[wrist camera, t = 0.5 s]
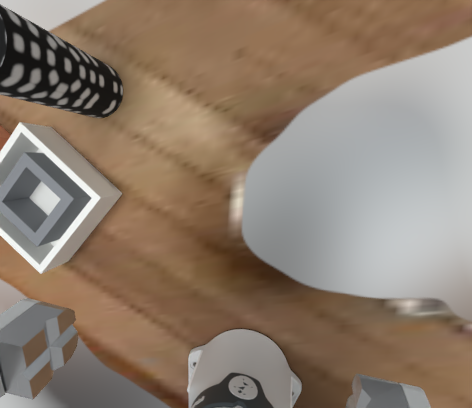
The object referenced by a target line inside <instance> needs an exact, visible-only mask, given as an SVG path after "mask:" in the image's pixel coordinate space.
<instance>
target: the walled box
mask: <svg viewBox="0 0 472 408" xmlns="http://www.w3.org/2000/svg"><path fill="white" fill-rule="evenodd" d="M122 194H123V193H122V192H121V191H119V190H118V189H117V188H116V187H115V186H114V185H113V184H112V183H111V182H110V181H109V180H108V179H107V178H105V177H104V176H103V175H102V174H101V173H100V172H99V171H98V170H97V169H96V168H95V167H94V166H93V165H92V164H90V163H89V162H88V161H87V160H86V159H85V158H84V157H83V156H82V155H81V154H80V153H79V152H78V151H76V150H75V149H74V148H73V147H72V146H71V145H70V144H69V143H68V142H67V141H66V140H65V139H64V138H63V137H61V136H60V135H59V134H58V133H57V132H56V131H55V130H54V129H53V128H52V127H48V126H41V125H35V124H29V123H22V122H20V123H19V124H18V126H17V127H16V129H15V130H14V132H13V133H12V135H11V136H10V138H9V139H8V141H7V142H6V144H5V145H4V147H3V148H2V150H1V151H0V236H2V237H3V238H4V239H5V240H6V241H7V242H8V243H9V244H10V245H11V246H12V247H13V248H14V249H15V250H16V251H17V252H18V253H19V254H21V255H22V256H23V257H24V258H25V259H26V260H27V261H28V262H29V263H30V264H31V265H32V266H33V267H34V268H35V269H36V270H37V271H38V272H40V273H41V274H42V273H44V272H46V271H48V270H50V269H53V268H55V267H57V266H59V265H61V264H64V263H66V262H68V261H69V260H70V259H71V257H72V256H73V255H74V254H75V252H76V251H77V250H78V249H79V247H80V246H81V245H82V244H83V242H84V241H85V240H86V239H87V237H88V236H89V235H90V234H91V232H92V231H93V230H94V229H95V227H96V226H97V225H98V224H99V222H100V221H101V220H102V219H103V218H104V216H105V215H106V214H107V213H108V211H109V210H110V209H111V208H112V206H113V205H114V204H115V203H116V201H117V200H118V199H119V198H120V196H121V195H122Z"/></svg>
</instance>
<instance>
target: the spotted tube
mask: <svg viewBox="0 0 472 408" xmlns="http://www.w3.org/2000/svg"><path fill="white" fill-rule="evenodd" d="M0 94H1V95H5V96H9V97H13V98H17V99H21V100H25V101H29V102H33V103H37V104H41V105H45V106H49V107H53V108H58V109H62V110H66V111H70V112H74V113H78V114H82V115H86V116H90V117H94V118H104V117H107V116H109V115H111V114H112V113H114V112H115V111H116V110H117V108H118V107H119V105H120V103H121V100H122V96H123V87H122V82H121V79H120V77H119V75H118V74H117V73H116V71H115V70H114V69H113V68H112V67H110V66H108V65H107V64H105V63H103V62H101V61H100V60H98V59H96V58H94V57H92V56H91V55H89V54H87V53H85V52H84V51H82V50H80V49H78V48H77V47H75V46H73V45H71V44H69V43H68V42H66V41H64V40H62V39H61V38H59V37H57V36H55V35H54V34H52V33H50V32H48V31H46V30H45V29H43V28H41V27H39V26H38V25H36V24H34V23H32V22H31V21H29V20H27V19H25V18H23V17H22V16H20V15H18V14H16V13H15V12H13V11H11V10H9V9H7V8H6V7H4V6H2V5H0Z"/></svg>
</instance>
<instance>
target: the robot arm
mask: <svg viewBox="0 0 472 408" xmlns="http://www.w3.org/2000/svg"><path fill="white" fill-rule="evenodd" d="M75 320H76V318H75V312H74V311H73V310H71V309H69V308H65V307H61V306H57V305H53V304H50V303H46V302H41V301H37V300H33V299H29V298H27V299H23V300H20V301H19V302H18V303H16V304H15V305H13V306H12V307H10V308H9V309H7V310H6V311H5V312H3V313H2V314H0V397H1V396H3V395H5V393H9V394H14V395H18V396H21V397H25V398H30V399H34V398H35V397H36V396H37V395H38V393H39V392H40V391H41V390H42V389H43V388H44V387H45V386H46V385H47V384H48V382H49V381H50V380H51V379H52V376H53V371H54V370H55V369H57V368H59V367H61V366H63V365H65V364H66V362H67V361H68V360H69V359H70V358H71V356H72V355H73V353H74V351H75V349H76V347H77V341H78V333H77V331H76V329H75V328H74V327H73V325H72V324H73V323H74V322H75ZM194 362H196V364H195V363H194ZM188 371H189V385H188V388H187V392H188V393H189V408H293V406H294V404H295V402H296V400H297V398H298V396H299V395H300V393H301V390H302V383H301V381H300V379H299V378H298V377H297V376H296V375H295V374H294V373H293V372H292V371H291V369H290V368H289V366H288V363H287V360H286V358H285V356H284V354H283V352H282V351H281V349H280V348H279V347H278V346H277V345H276V344H275V343H274V342H273V341H272V340H271V339H269V338H268V337H266V336H264V335H263V334H260V333H258V332H255V331H252V330H246V329H235V330H229V331H226V332H223V333H221V334H219V335H218V336H216V337H215V338H214V339H212V340H211V341H210V342H209V343H208V344H206V345H203V346H199V347H196V348H194V349H192V350H191V351H190V354H189V357H188ZM352 388H353V394H352V395H351V396H349V397H348V400H347V404H346V408H431V406H430V404H429V401H428V399H427V397H426V394H425V392H424V391H423V390H422V389H421V388H420V387H416V386H411V385H407V384H402V383H397V382H393V381H388V380H384V379H379V378H374V377H370V376H365V375H361V374H356V375H355V376H354V379H353V382H352Z"/></svg>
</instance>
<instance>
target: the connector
mask: <svg viewBox="0 0 472 408" xmlns="http://www.w3.org/2000/svg"><path fill="white" fill-rule="evenodd" d="M10 136H11V135H10V134H9V133H8V132H7V131H6V130H5V129H4V128H3V127H2V126H1V125H0V151H1V150H2V148H3V147H4V145H5V144H6V142H7V141H8V139H9V138H10Z"/></svg>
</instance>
